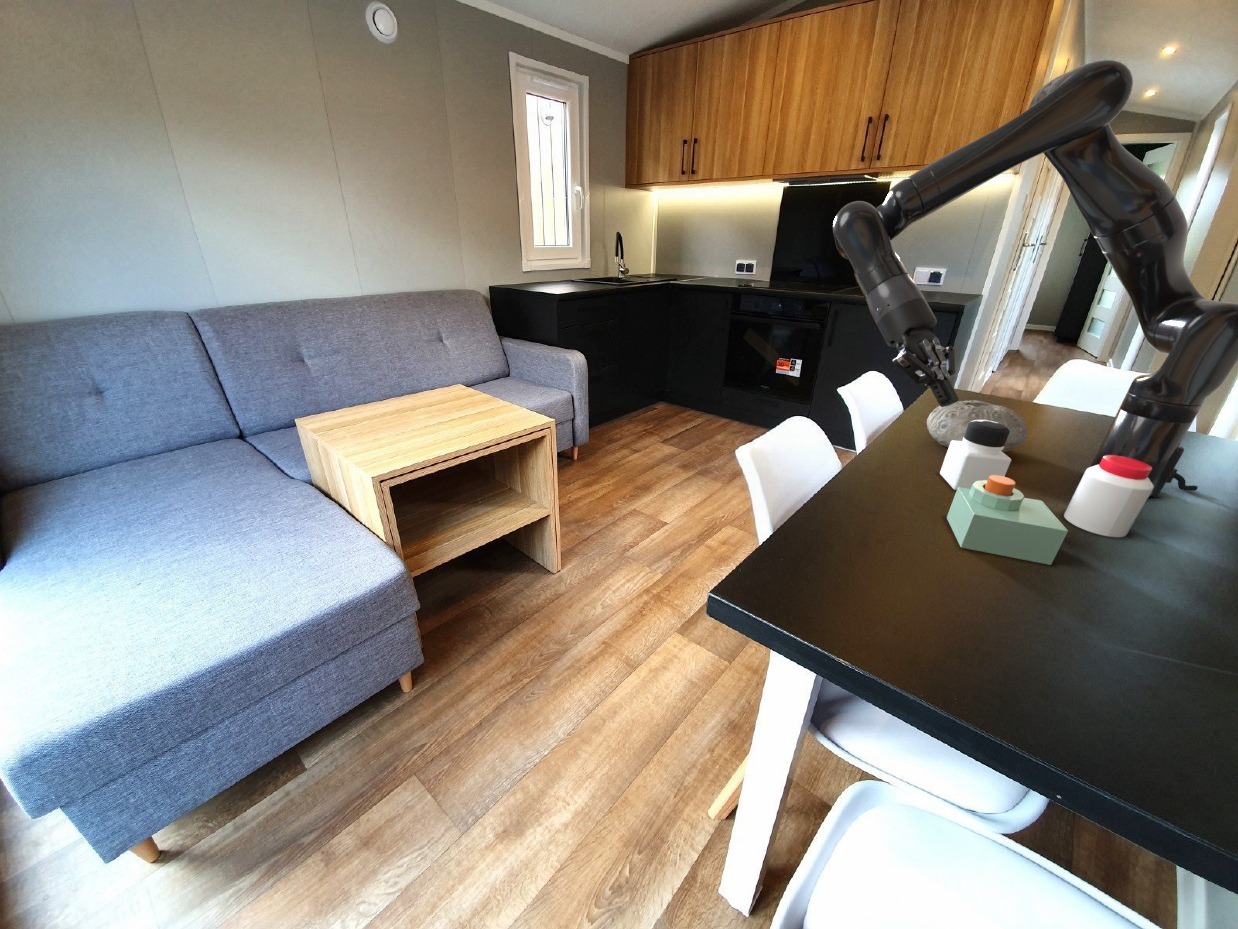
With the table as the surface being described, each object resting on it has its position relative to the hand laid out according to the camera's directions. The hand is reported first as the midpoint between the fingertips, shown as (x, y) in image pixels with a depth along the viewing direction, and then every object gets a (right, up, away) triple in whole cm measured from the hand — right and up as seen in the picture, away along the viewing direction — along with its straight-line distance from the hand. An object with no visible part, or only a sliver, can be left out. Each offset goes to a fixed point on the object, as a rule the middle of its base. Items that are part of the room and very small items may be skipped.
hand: (950, 404), depth 76 cm
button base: (+5, -21, -2) cm, 22 cm away
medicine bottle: (+13, -13, +15) cm, 24 cm away
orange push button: (+4, -13, -4) cm, 15 cm away
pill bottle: (+25, -19, +3) cm, 32 cm away
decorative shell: (+25, -6, +31) cm, 40 cm away
